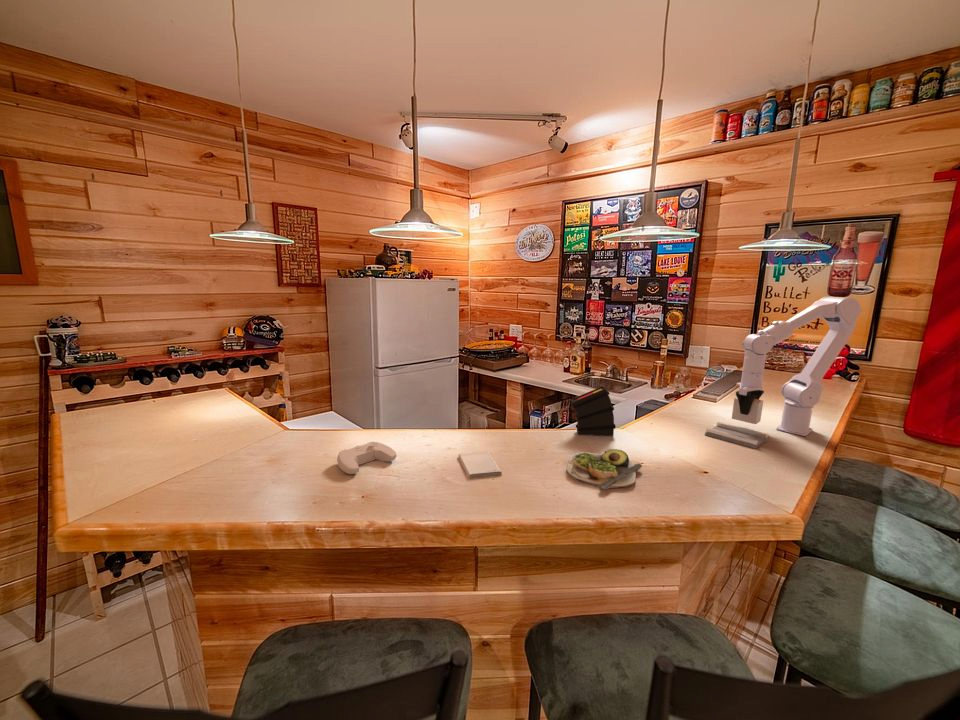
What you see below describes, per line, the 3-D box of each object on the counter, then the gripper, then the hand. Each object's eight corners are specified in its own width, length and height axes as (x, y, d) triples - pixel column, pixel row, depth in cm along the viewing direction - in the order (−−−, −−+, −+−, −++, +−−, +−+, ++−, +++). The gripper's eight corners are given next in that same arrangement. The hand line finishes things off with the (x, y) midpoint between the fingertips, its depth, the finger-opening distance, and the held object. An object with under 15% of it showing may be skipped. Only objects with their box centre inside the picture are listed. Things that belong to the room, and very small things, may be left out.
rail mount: (718, 427, 140) (719, 421, 139) (767, 439, 129) (768, 433, 129) (704, 434, 133) (705, 428, 132) (755, 448, 122) (756, 442, 122)
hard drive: (501, 471, 103) (488, 450, 115) (469, 474, 101) (458, 453, 113) (501, 477, 103) (487, 456, 115) (469, 480, 101) (458, 459, 113)
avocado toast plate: (639, 502, 92) (641, 483, 92) (558, 486, 99) (559, 468, 98) (641, 466, 110) (643, 450, 109) (572, 455, 117) (573, 439, 116)
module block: (736, 415, 142) (739, 395, 141) (760, 421, 137) (763, 399, 136) (731, 418, 139) (734, 397, 138) (755, 424, 134) (759, 402, 133)
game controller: (349, 468, 99) (329, 447, 105) (348, 484, 100) (328, 462, 107) (401, 451, 109) (380, 433, 115) (399, 465, 110) (378, 447, 117)
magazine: (625, 431, 129) (607, 388, 127) (584, 448, 131) (566, 405, 128) (621, 427, 133) (604, 385, 130) (582, 443, 134) (564, 401, 132)
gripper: (746, 366, 143) (741, 405, 145) (730, 372, 133) (725, 413, 136) (770, 370, 137) (764, 410, 140) (756, 377, 128) (750, 419, 131)
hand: (747, 412), depth 138 cm, fingers closed on module block, 4 cm apart
